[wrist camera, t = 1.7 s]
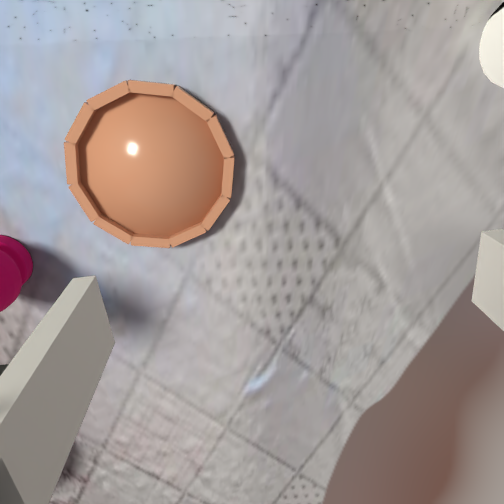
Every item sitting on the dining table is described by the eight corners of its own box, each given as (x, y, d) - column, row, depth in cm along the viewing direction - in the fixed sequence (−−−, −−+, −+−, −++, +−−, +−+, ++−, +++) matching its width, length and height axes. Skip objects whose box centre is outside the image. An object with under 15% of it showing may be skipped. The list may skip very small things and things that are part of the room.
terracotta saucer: (43, 186, 41) (36, 190, 40) (120, 43, 36) (116, 42, 35) (179, 267, 46) (177, 273, 44) (264, 148, 41) (265, 151, 40)
